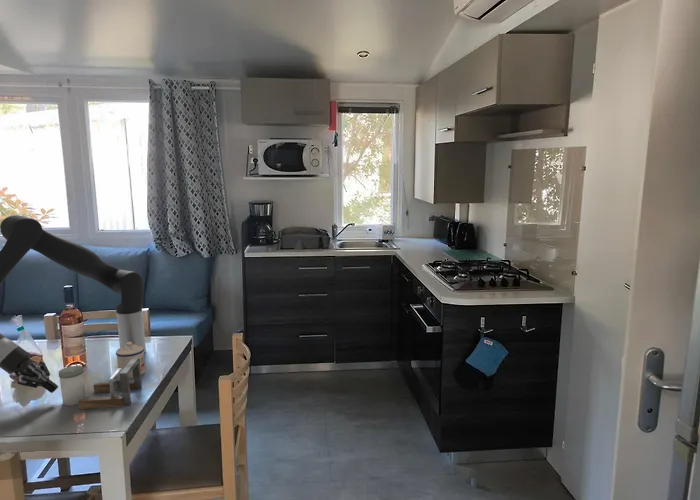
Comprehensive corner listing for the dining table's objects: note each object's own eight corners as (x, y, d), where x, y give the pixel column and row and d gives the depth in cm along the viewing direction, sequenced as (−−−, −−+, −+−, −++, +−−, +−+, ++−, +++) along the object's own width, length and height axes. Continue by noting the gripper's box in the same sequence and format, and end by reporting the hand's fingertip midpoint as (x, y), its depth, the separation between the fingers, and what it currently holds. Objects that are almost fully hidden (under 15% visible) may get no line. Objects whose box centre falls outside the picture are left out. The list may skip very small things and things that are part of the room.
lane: (95, 390, 160) (92, 360, 158) (141, 387, 162) (139, 357, 160) (79, 409, 147) (75, 376, 146) (129, 405, 149) (126, 373, 148)
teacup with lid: (140, 378, 169) (137, 346, 167) (113, 379, 168) (110, 347, 166) (152, 365, 180) (150, 335, 179) (127, 366, 180) (124, 336, 178)
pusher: (120, 390, 159) (118, 368, 158) (138, 388, 160) (136, 367, 158) (111, 402, 151) (108, 379, 149) (130, 400, 151) (128, 377, 150)
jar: (67, 396, 156) (64, 366, 155) (90, 395, 157) (86, 365, 155) (58, 406, 150) (54, 375, 148) (81, 404, 150) (77, 373, 149)
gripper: (3, 354, 142) (53, 390, 146) (27, 339, 155) (72, 372, 158) (-14, 372, 142) (36, 408, 146) (11, 356, 155) (57, 389, 159)
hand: (55, 389), depth 152 cm, fingers closed
